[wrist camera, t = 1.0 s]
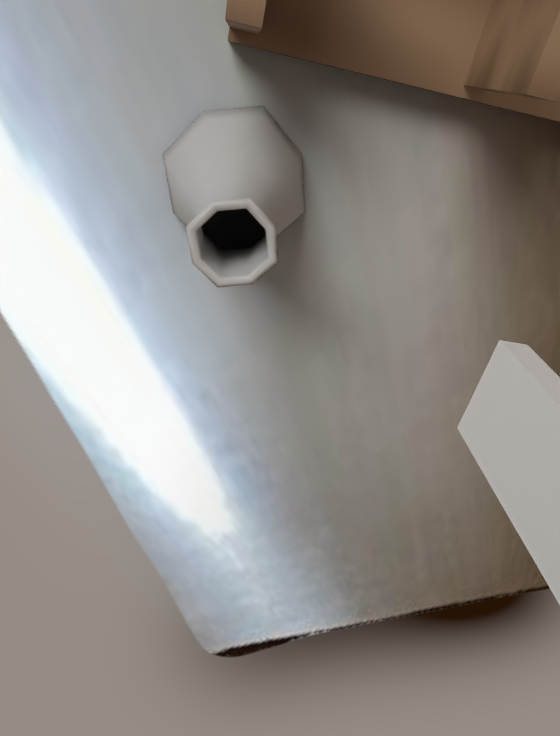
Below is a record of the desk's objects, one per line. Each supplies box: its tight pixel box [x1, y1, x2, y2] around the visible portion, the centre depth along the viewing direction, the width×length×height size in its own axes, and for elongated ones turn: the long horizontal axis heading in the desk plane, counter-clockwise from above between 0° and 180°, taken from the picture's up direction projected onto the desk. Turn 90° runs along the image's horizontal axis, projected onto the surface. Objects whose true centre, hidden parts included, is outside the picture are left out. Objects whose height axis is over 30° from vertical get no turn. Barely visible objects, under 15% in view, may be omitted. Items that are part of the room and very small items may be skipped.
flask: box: [162, 106, 305, 287], centre depth 22 cm, size 7×7×10 cm
